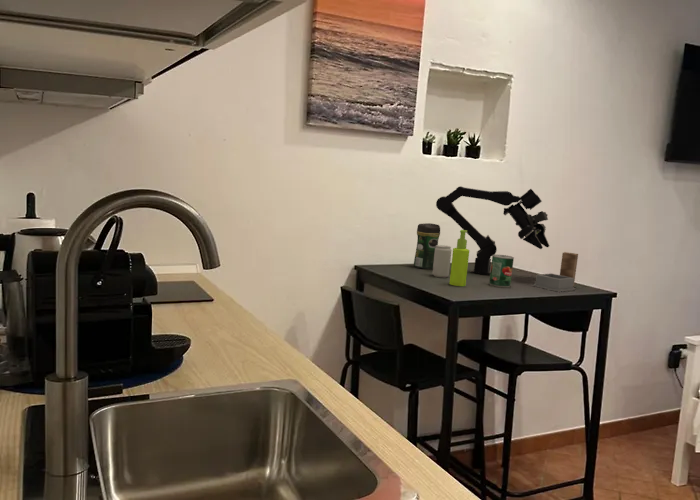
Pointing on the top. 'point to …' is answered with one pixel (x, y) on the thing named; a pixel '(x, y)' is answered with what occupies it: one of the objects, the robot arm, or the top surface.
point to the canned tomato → (501, 270)
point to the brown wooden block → (569, 265)
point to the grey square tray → (554, 282)
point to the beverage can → (442, 261)
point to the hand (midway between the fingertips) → (545, 247)
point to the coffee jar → (426, 245)
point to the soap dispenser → (459, 262)
